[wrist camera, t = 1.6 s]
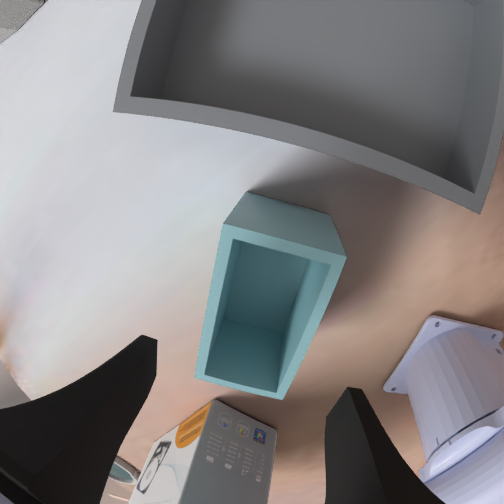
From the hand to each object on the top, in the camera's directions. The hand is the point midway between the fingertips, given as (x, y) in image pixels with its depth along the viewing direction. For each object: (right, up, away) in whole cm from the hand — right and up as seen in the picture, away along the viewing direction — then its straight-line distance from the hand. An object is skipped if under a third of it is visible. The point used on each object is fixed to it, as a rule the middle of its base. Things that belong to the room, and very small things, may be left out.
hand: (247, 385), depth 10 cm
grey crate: (+5, +17, +2) cm, 18 cm away
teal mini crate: (+1, +4, +9) cm, 9 cm away
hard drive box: (-5, -15, +18) cm, 24 cm away
